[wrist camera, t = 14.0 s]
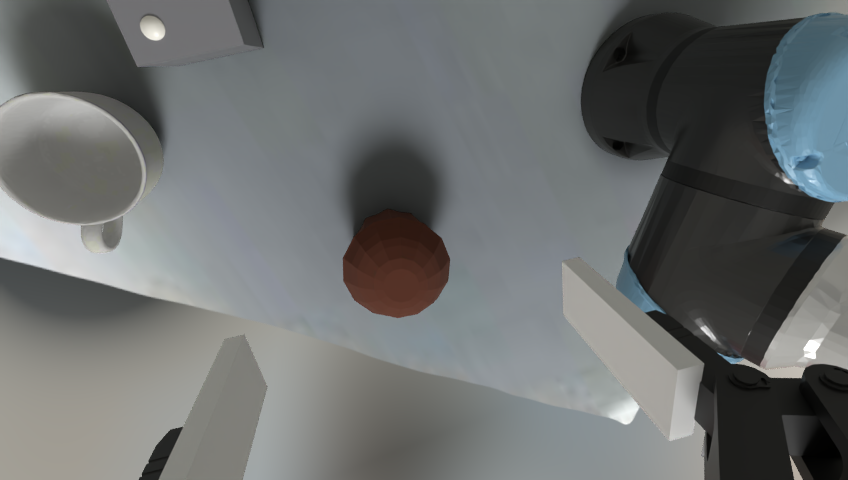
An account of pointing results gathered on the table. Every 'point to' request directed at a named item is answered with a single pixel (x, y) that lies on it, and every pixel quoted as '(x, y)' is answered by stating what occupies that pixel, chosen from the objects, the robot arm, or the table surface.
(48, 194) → the teacup
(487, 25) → the table surface
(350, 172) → the table surface
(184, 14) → the die
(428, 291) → the muffin
